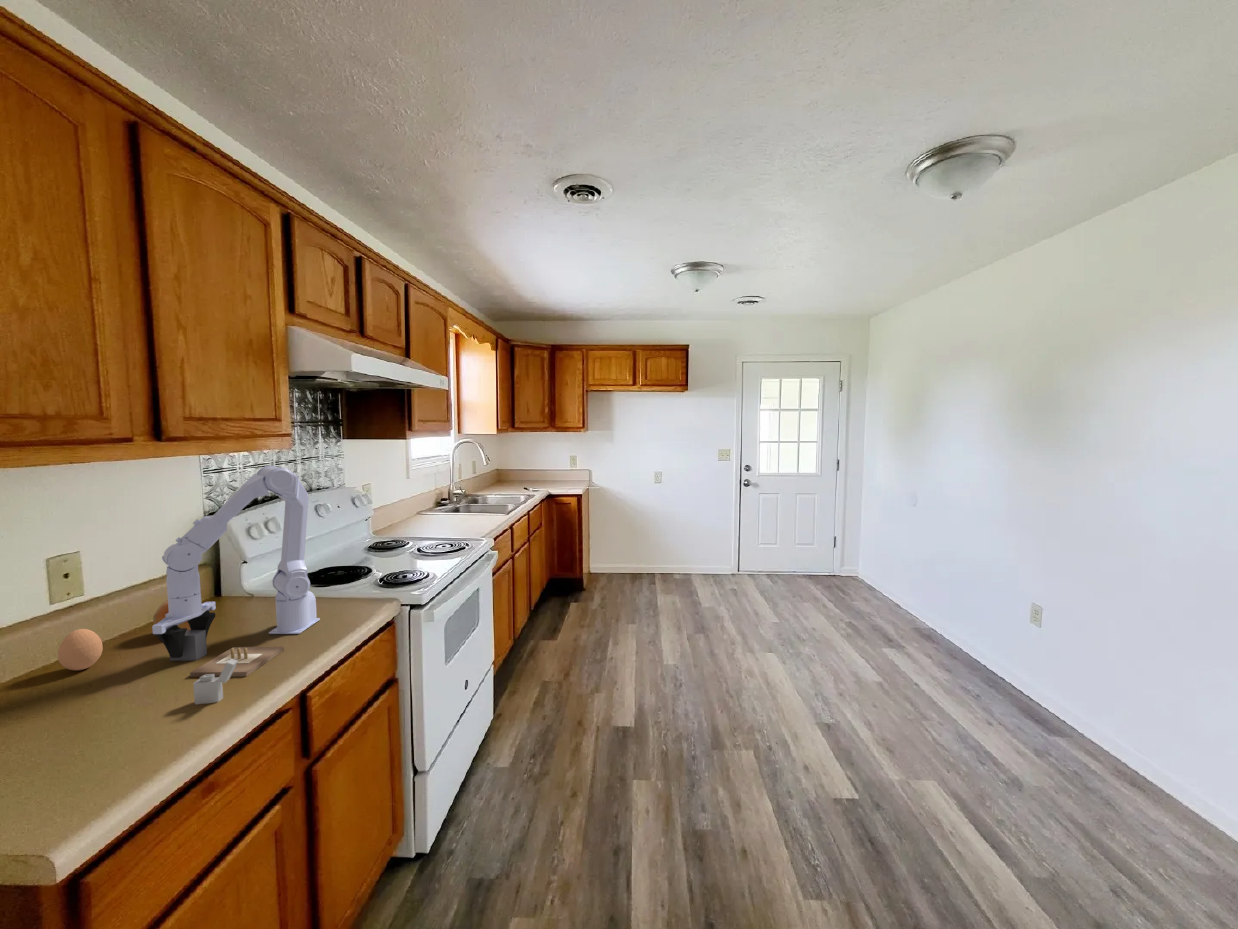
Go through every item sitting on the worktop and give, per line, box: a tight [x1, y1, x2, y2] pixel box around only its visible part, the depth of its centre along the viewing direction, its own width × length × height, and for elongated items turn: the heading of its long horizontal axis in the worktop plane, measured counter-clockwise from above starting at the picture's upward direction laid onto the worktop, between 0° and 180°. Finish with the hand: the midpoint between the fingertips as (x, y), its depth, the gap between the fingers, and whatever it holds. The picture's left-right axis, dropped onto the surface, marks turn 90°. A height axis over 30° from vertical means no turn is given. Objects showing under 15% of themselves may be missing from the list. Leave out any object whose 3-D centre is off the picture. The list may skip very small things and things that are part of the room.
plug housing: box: [169, 630, 208, 662], centre depth 112 cm, size 3×6×6 cm, turn 92°
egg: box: [57, 628, 104, 671], centre depth 106 cm, size 7×7×9 cm
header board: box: [189, 646, 285, 678], centre depth 109 cm, size 12×12×4 cm
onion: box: [152, 599, 203, 630], centre depth 125 cm, size 10×10×10 cm
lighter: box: [192, 659, 238, 705], centre depth 94 cm, size 7×2×8 cm, turn 103°
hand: (188, 650), depth 112 cm, fingers open, 6 cm apart
